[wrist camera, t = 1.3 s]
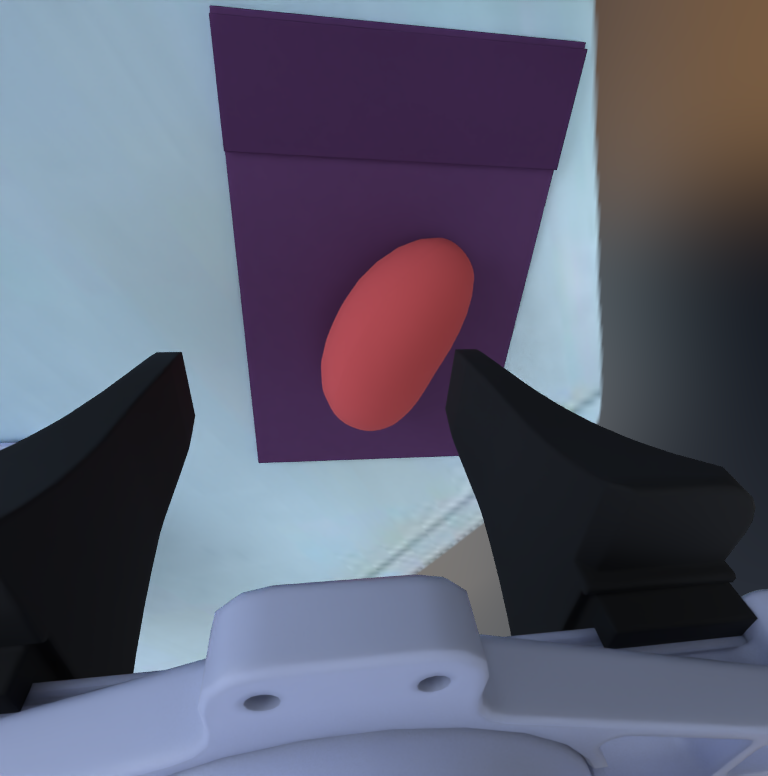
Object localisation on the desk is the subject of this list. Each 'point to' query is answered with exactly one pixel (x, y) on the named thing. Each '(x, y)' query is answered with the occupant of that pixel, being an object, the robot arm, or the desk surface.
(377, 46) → the cloth
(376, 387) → the red oval piece
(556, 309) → the desk surface
